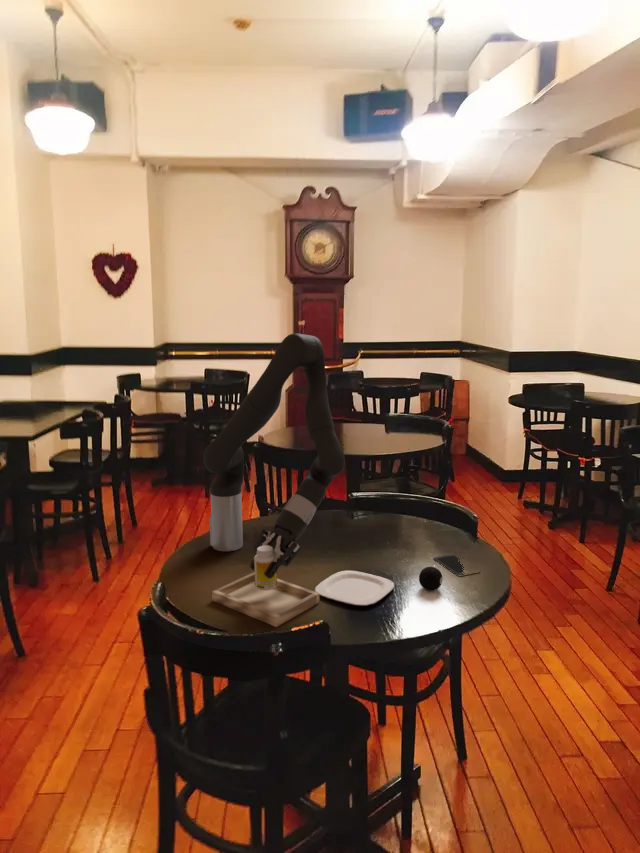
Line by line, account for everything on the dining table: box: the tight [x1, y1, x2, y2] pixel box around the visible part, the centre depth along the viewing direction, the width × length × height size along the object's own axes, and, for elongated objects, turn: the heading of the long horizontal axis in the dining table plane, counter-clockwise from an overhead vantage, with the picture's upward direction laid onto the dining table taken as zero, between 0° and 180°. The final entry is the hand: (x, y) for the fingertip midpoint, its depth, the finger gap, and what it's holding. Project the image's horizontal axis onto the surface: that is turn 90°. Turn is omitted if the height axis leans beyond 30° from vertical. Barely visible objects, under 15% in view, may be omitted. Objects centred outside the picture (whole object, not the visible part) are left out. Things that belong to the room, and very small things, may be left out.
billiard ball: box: [418, 566, 444, 591], centre depth 177 cm, size 6×6×6 cm
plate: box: [314, 570, 395, 607], centre depth 176 cm, size 18×18×2 cm
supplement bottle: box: [253, 545, 278, 590], centre depth 169 cm, size 6×6×10 cm
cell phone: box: [433, 553, 465, 576], centre depth 192 cm, size 7×14×1 cm, turn 22°
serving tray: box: [211, 571, 320, 628], centre depth 170 cm, size 22×16×2 cm
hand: (259, 572), depth 168 cm, fingers closed on supplement bottle, 5 cm apart
